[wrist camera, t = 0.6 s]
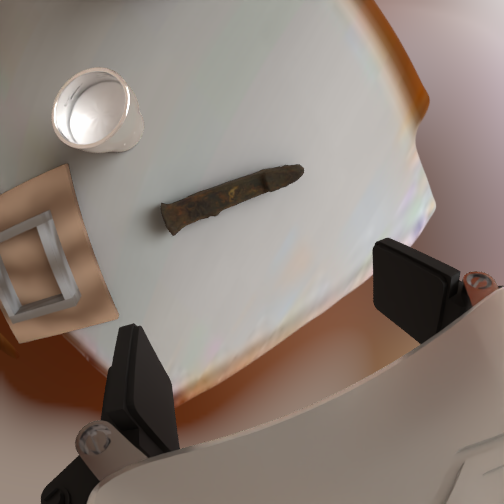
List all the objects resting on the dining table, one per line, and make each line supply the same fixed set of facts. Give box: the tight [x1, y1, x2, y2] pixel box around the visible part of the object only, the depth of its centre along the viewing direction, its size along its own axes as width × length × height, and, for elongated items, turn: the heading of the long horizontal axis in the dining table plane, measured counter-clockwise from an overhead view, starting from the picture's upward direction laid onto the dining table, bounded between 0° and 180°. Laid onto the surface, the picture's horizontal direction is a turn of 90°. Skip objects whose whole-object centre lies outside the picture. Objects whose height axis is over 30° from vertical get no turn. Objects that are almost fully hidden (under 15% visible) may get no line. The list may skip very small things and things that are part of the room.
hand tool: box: [161, 164, 304, 236], centre depth 35 cm, size 19×4×5 cm, turn 106°
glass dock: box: [0, 164, 119, 343], centre depth 29 cm, size 22×20×4 cm
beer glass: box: [52, 67, 144, 153], centre depth 23 cm, size 7×7×15 cm
